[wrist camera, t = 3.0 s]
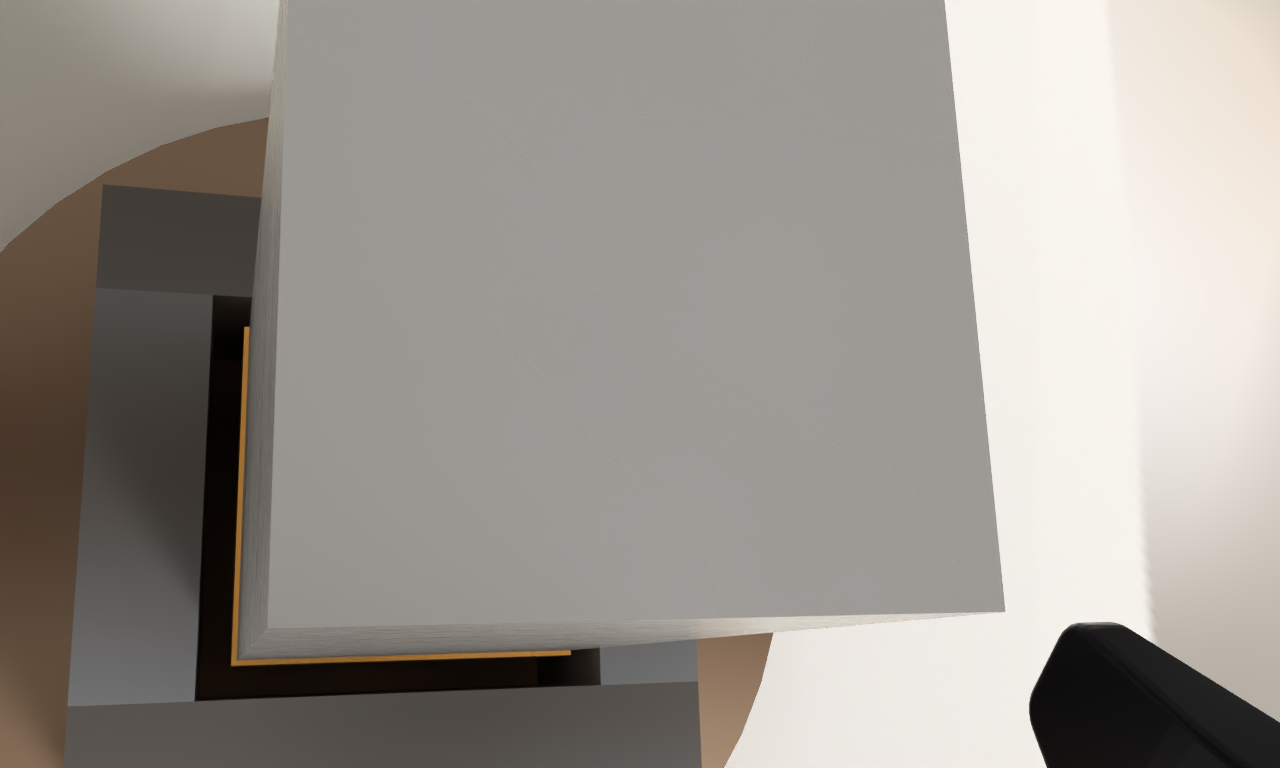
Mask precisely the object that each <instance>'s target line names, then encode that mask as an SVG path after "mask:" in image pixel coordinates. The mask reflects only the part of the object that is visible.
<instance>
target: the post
mask: <svg viewBox="0 0 1280 768" xmlns="http://www.w3.org/2000/svg"><path fill="white" fill-rule="evenodd" d="M998 612H1005V604H1004V594H1003V584H1002V574H1001V564H1000V554H999V544H998V534H997V524H996V514H995V504H994V494H993V484H992V474H991V464H990V454H989V444H988V434H987V424H986V414H985V404H984V393H983V383H982V373H981V363H980V353H979V343H978V333H977V323H976V313H975V303H974V293H973V283H972V273H971V263H970V253H969V243H968V233H967V223H966V213H965V203H964V193H963V183H962V173H961V163H960V153H959V142H958V132H957V122H956V112H955V102H954V92H953V82H952V72H951V62H950V52H949V42H948V32H947V22H946V12H945V2H944V0H280V6H279V16H278V27H277V38H276V49H275V59H274V70H273V81H272V91H271V102H270V113H269V123H268V134H267V145H266V155H265V166H264V177H263V187H262V198H261V209H260V219H259V230H258V241H257V251H256V262H255V273H254V283H253V294H252V305H251V315H250V326H249V327H244V339H243V352H242V366H241V391H240V416H239V442H238V467H237V492H236V518H235V543H234V568H233V594H232V619H231V644H230V667H259V666H290V665H321V664H353V663H384V662H415V661H446V660H478V659H509V658H537V657H551V656H564V655H571V650H580V649H591V648H602V647H613V646H625V645H636V644H647V643H659V642H670V641H681V640H693V639H704V638H715V637H726V636H738V635H749V634H760V633H772V632H783V631H794V630H806V629H817V628H828V627H840V626H851V625H862V624H873V623H885V622H896V621H907V620H919V619H930V618H941V617H953V616H964V615H975V614H986V613H998Z"/></svg>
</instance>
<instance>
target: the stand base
mask: <svg viewBox="0 0 1280 768" xmlns="http://www.w3.org/2000/svg"><path fill="white" fill-rule="evenodd" d="M268 123H269V118H265V119H260V120H255V121H250V122H245V123H240V124H234V125H229V126H224V127H219V128H215V129H212V130H209V131H206V132H203V133H200V134H197V135H193V136H190V137H187V138H184V139H181V140H178V141H175V142H172V143H169V144H166V145H163V146H160V147H158V148H156V149H154V150H152V151H150V152H147V153H145V154H143V155H141V156H139V157H137V158H135V159H133V160H130V161H128V162H126V163H124V164H122V165H120V166H118V167H116V168H113V169H111V170H109V171H107V172H106V173H104V174H103V175H101V176H99V177H98V178H96V179H95V180H93V181H92V182H90V183H88V184H87V185H85V186H84V187H82V188H81V189H79V190H77V191H76V192H74V193H73V194H71V195H70V196H68V197H66V198H65V199H63V200H62V201H60V202H59V203H57V204H56V205H55V206H53V207H52V208H51V209H50V210H49V211H47V212H46V213H45V214H44V215H43V216H41V217H40V218H39V219H38V220H37V221H35V222H34V223H33V224H32V225H31V226H30V227H28V228H27V229H26V230H25V231H24V232H22V233H21V234H20V235H19V236H18V237H16V238H15V239H14V240H13V241H12V242H10V243H9V245H8V246H7V247H6V248H5V249H4V250H3V251H2V252H1V253H0V768H724V767H725V765H726V763H727V761H728V759H729V757H730V755H731V753H732V751H733V749H734V748H735V746H736V744H737V742H738V740H739V738H740V736H741V734H742V732H743V729H744V726H745V724H746V721H747V718H748V716H749V713H750V710H751V708H752V705H753V703H754V700H755V697H756V695H757V692H758V689H759V687H760V684H761V681H762V677H763V672H764V668H765V664H766V660H767V656H768V652H769V648H770V644H771V640H772V636H773V632H772V633H760V634H749V635H738V636H726V637H715V638H704V639H693V640H681V641H670V642H659V643H647V644H636V645H625V646H613V647H602V648H591V649H580V650H571V655H564V656H551V657H537V658H509V659H478V660H446V661H415V662H384V663H353V664H321V665H290V666H259V667H230V644H231V619H232V594H233V568H234V543H235V518H236V492H237V467H238V442H239V416H240V391H241V366H242V352H243V339H244V327H249V326H250V315H251V305H252V294H253V283H254V273H255V262H256V251H257V241H258V230H259V219H260V209H261V198H262V187H263V177H264V166H265V155H266V145H267V134H268Z"/></svg>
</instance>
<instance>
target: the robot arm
mask: <svg viewBox="0 0 1280 768" xmlns="http://www.w3.org/2000/svg"><path fill="white" fill-rule="evenodd" d="M1029 715H1030V721H1031V725H1032V728H1033V731H1034V734H1035V737H1036V739H1037V742H1038V745H1039V747H1040V750H1041V753H1042V756H1043V758H1044V761H1045V764H1046V766H1047V768H1280V722H1278V721H1276V720H1275V719H1273V718H1272V717H1270V716H1268V715H1267V714H1265V713H1264V712H1262V711H1260V710H1259V709H1257V708H1256V707H1254V706H1252V705H1251V704H1249V703H1247V702H1246V701H1244V700H1242V699H1241V698H1239V697H1238V696H1236V695H1234V694H1233V693H1231V692H1230V691H1228V690H1227V689H1225V688H1223V687H1222V686H1220V685H1219V684H1217V683H1215V682H1214V681H1212V680H1211V679H1209V678H1207V677H1206V676H1204V675H1202V674H1201V673H1199V672H1198V671H1196V670H1194V669H1193V668H1191V667H1189V666H1188V665H1186V664H1185V663H1183V662H1182V661H1180V660H1178V659H1177V658H1175V657H1173V656H1172V655H1170V654H1169V653H1167V652H1165V651H1164V650H1162V649H1161V648H1159V647H1157V646H1156V645H1154V644H1153V643H1151V642H1149V641H1148V640H1146V639H1145V638H1143V637H1141V636H1140V635H1138V634H1137V633H1135V632H1133V631H1132V630H1130V629H1129V628H1127V627H1125V626H1123V625H1121V624H1117V623H1112V622H1094V623H1076V624H1073V625H1070V626H1069V627H1068V628H1066V629H1065V630H1064V631H1063V632H1062V634H1061V635H1060V637H1059V639H1058V641H1057V643H1056V645H1055V647H1054V649H1053V651H1052V653H1051V655H1050V657H1049V659H1048V661H1047V663H1046V665H1045V667H1044V669H1043V671H1042V673H1041V675H1040V677H1039V679H1038V681H1037V683H1036V685H1035V687H1034V689H1033V691H1032V693H1031V697H1030V702H1029Z"/></svg>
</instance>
